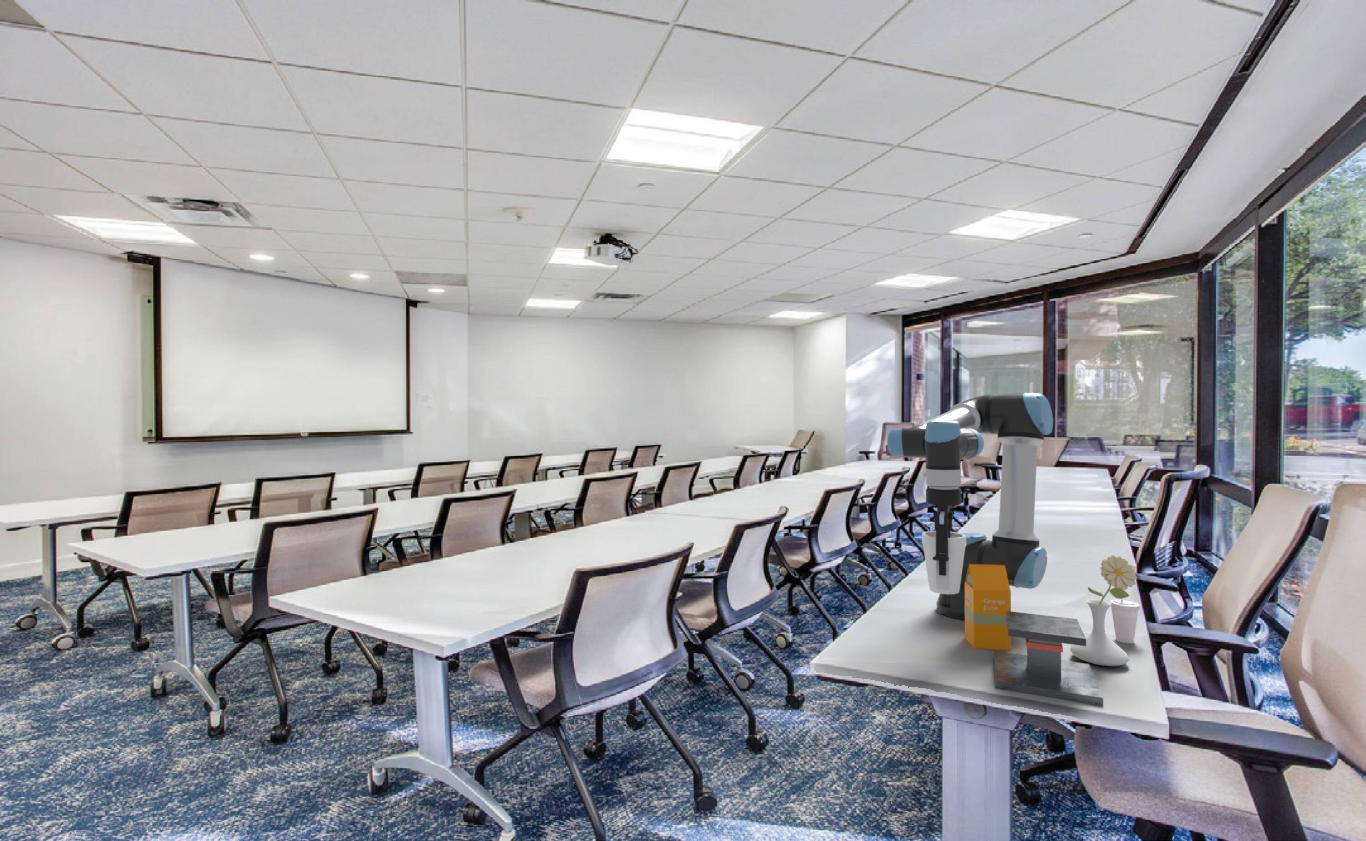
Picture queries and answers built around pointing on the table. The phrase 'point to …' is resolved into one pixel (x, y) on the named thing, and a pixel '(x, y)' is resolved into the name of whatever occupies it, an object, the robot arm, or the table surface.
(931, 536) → the foam cup
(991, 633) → the orange juice
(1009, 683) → the stand
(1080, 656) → the flower in vase
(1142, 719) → the table surface
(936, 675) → the table surface
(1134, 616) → the smoothie
